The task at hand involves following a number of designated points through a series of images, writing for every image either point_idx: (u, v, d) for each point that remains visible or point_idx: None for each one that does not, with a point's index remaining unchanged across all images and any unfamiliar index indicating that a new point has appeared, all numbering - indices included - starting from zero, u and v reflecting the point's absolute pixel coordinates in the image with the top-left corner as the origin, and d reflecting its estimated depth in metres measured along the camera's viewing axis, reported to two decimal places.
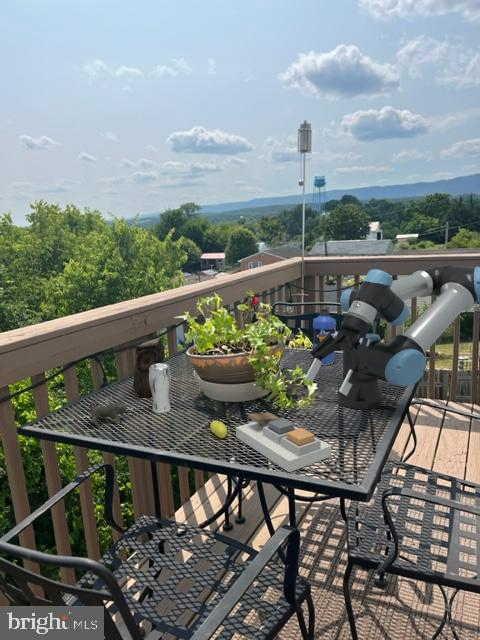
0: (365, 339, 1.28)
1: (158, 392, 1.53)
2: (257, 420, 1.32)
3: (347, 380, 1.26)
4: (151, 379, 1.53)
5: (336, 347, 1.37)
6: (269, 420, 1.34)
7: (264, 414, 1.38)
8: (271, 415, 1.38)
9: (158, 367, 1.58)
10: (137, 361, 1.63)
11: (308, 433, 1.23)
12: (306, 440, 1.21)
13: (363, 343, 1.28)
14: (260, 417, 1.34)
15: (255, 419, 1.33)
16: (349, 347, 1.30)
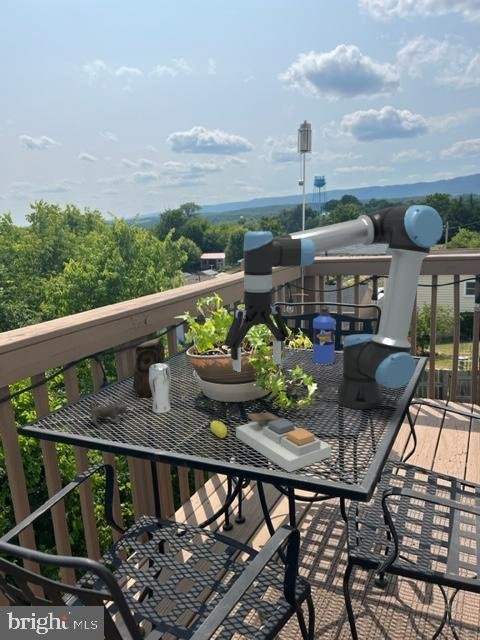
0: None
1: (158, 392, 1.53)
2: (257, 420, 1.32)
3: None
4: (151, 379, 1.53)
5: (267, 323, 1.30)
6: (269, 420, 1.34)
7: (264, 414, 1.38)
8: (271, 415, 1.38)
9: (158, 367, 1.58)
10: (137, 361, 1.63)
11: (308, 433, 1.23)
12: (306, 440, 1.21)
13: None
14: (260, 417, 1.34)
15: (255, 419, 1.33)
16: None
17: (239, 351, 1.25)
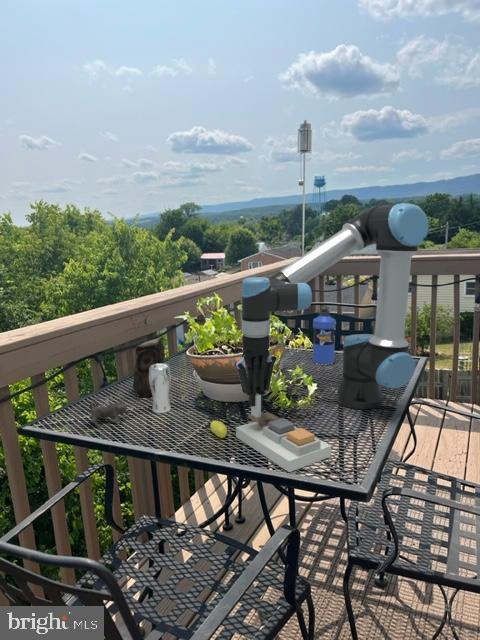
0: None
1: (157, 392, 1.53)
2: (257, 420, 1.32)
3: None
4: (151, 379, 1.53)
5: (258, 369, 1.32)
6: (269, 420, 1.34)
7: (264, 414, 1.38)
8: (271, 415, 1.38)
9: (158, 367, 1.58)
10: (137, 361, 1.63)
11: (308, 433, 1.23)
12: (306, 440, 1.21)
13: None
14: (260, 417, 1.34)
15: (255, 419, 1.33)
16: None
17: (257, 398, 1.32)
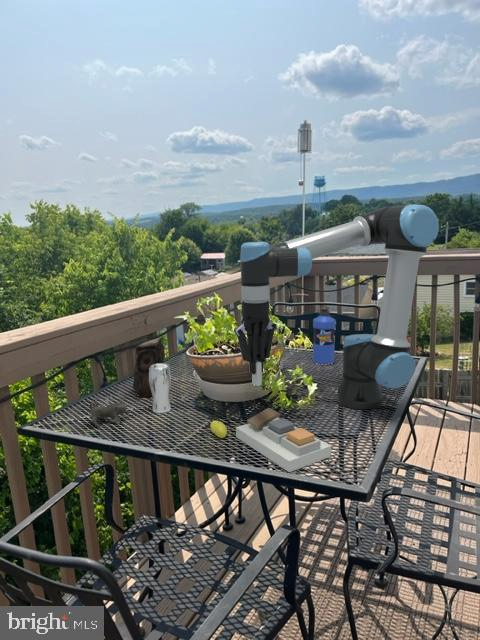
0: None
1: (158, 392, 1.53)
2: (256, 426, 1.32)
3: None
4: (151, 379, 1.53)
5: (258, 336, 1.30)
6: (268, 420, 1.34)
7: (263, 413, 1.37)
8: (270, 411, 1.37)
9: (158, 367, 1.58)
10: (137, 361, 1.63)
11: (308, 433, 1.23)
12: (306, 440, 1.21)
13: None
14: (259, 421, 1.34)
15: (254, 425, 1.33)
16: None
17: (257, 366, 1.30)
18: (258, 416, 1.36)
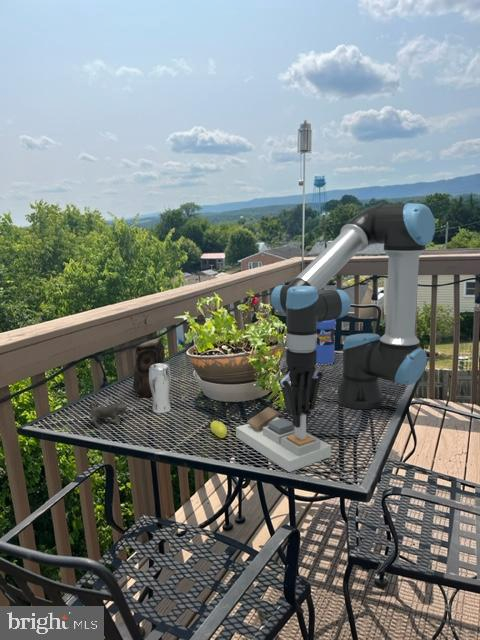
0: None
1: (157, 392, 1.53)
2: (256, 427, 1.32)
3: None
4: (151, 379, 1.53)
5: (303, 386, 1.20)
6: (268, 420, 1.34)
7: (262, 413, 1.37)
8: (269, 411, 1.37)
9: (158, 367, 1.58)
10: (137, 361, 1.63)
11: (308, 437, 1.23)
12: None
13: None
14: (259, 422, 1.34)
15: (255, 426, 1.33)
16: None
17: (302, 418, 1.20)
18: (258, 416, 1.36)
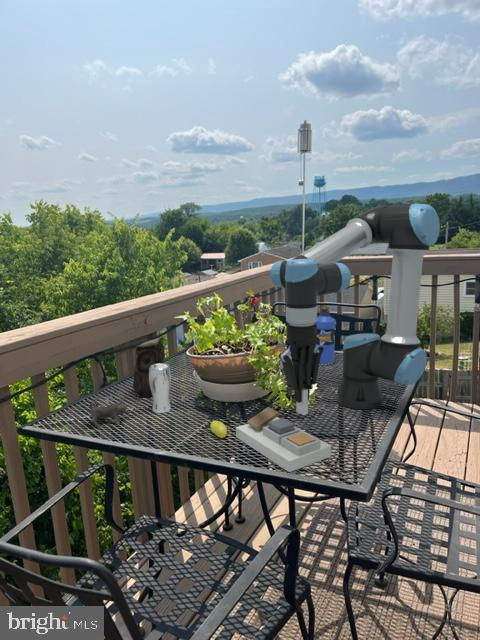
0: None
1: (158, 392, 1.53)
2: (256, 427, 1.32)
3: None
4: (151, 379, 1.53)
5: (304, 361, 1.19)
6: (268, 420, 1.34)
7: (262, 413, 1.37)
8: (269, 411, 1.37)
9: (158, 367, 1.58)
10: (137, 361, 1.63)
11: (308, 438, 1.23)
12: None
13: None
14: (259, 422, 1.34)
15: (255, 426, 1.33)
16: None
17: (303, 393, 1.19)
18: (258, 416, 1.36)
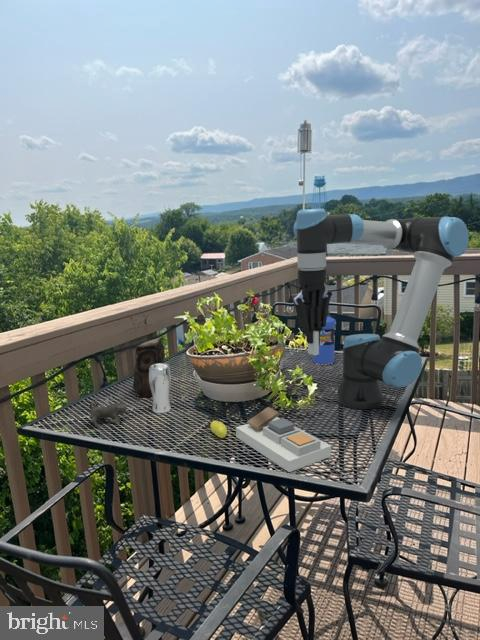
0: None
1: (157, 392, 1.53)
2: (256, 427, 1.32)
3: None
4: (151, 379, 1.53)
5: (315, 305, 1.28)
6: (268, 420, 1.34)
7: (262, 413, 1.37)
8: (269, 411, 1.37)
9: (158, 367, 1.58)
10: (137, 361, 1.63)
11: (308, 438, 1.23)
12: None
13: None
14: (259, 422, 1.34)
15: (255, 426, 1.33)
16: None
17: (315, 335, 1.29)
18: (258, 416, 1.36)
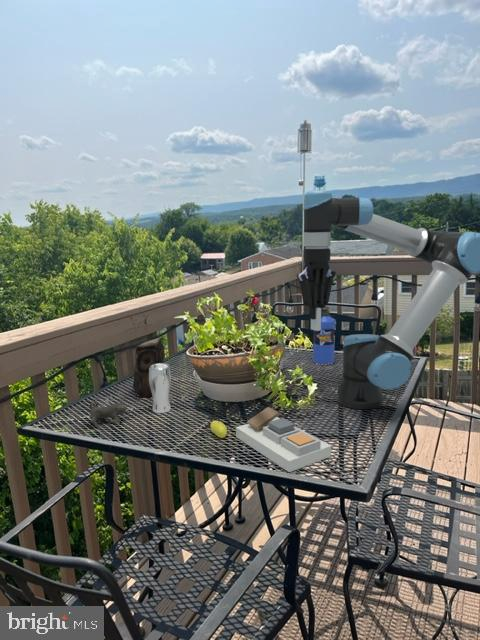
0: None
1: (158, 392, 1.53)
2: (256, 427, 1.32)
3: None
4: (151, 379, 1.53)
5: (318, 282, 1.35)
6: (268, 420, 1.34)
7: (262, 413, 1.37)
8: (269, 411, 1.37)
9: (158, 367, 1.58)
10: (137, 361, 1.63)
11: (308, 438, 1.23)
12: None
13: None
14: (259, 422, 1.34)
15: (255, 426, 1.33)
16: None
17: (317, 311, 1.36)
18: (258, 416, 1.36)
